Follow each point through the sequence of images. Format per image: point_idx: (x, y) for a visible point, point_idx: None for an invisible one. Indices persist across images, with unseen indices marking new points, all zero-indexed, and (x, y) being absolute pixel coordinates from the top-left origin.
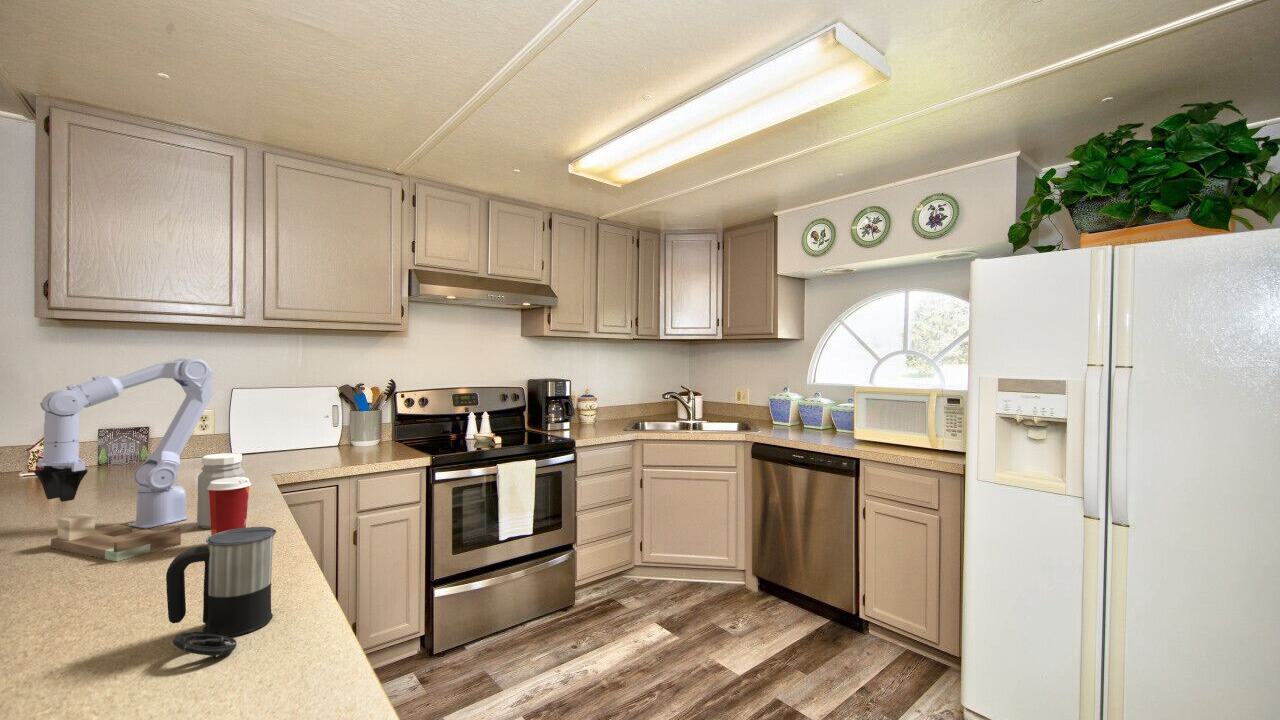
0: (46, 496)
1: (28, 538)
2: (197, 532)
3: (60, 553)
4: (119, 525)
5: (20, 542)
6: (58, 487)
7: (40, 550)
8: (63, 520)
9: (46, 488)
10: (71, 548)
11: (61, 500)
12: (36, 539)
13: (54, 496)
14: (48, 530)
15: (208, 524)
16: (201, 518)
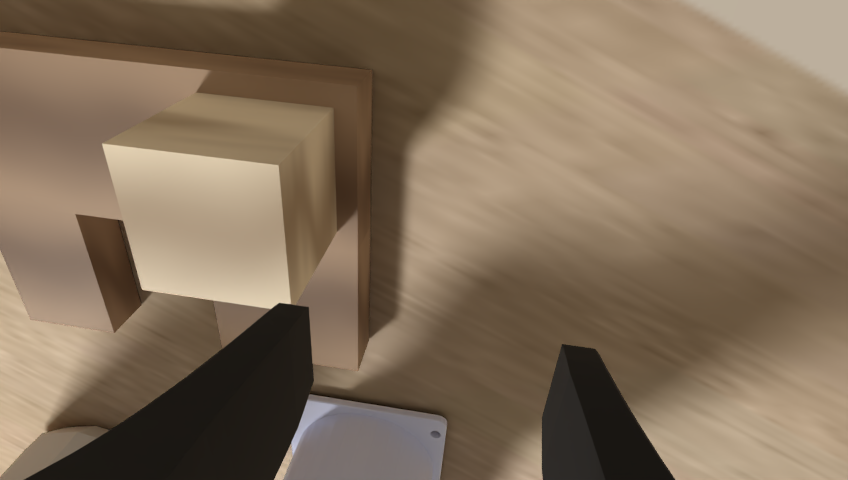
0: (594, 366)
1: (771, 166)
2: (53, 388)
3: (179, 11)
4: (319, 359)
5: (727, 92)
6: (185, 424)
7: (370, 12)
8: (195, 151)
9: (595, 457)
10: (134, 51)
11: (278, 308)
12: (685, 164)
13: (554, 401)
14: (822, 304)
15: (48, 436)
16: (55, 458)
